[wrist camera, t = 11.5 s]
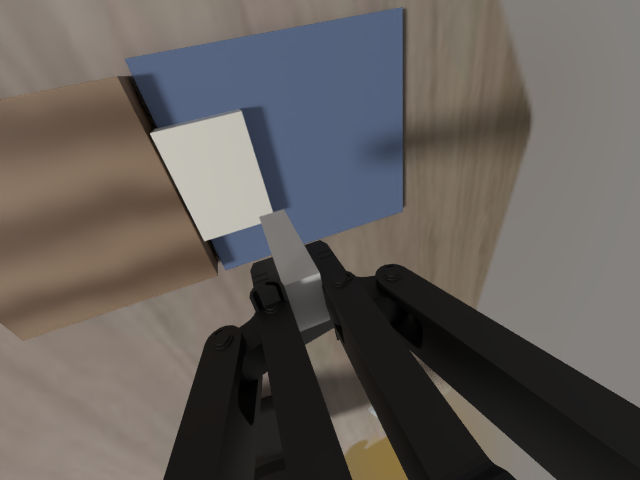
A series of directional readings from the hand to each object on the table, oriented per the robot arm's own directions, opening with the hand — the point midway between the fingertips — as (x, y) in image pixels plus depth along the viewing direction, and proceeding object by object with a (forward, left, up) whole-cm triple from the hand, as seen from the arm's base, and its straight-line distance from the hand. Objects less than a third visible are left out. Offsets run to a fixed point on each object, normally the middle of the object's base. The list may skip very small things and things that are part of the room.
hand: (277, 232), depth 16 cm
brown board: (0, +16, -13) cm, 21 cm away
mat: (0, -5, -13) cm, 14 cm away
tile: (+1, +3, -12) cm, 13 cm away
